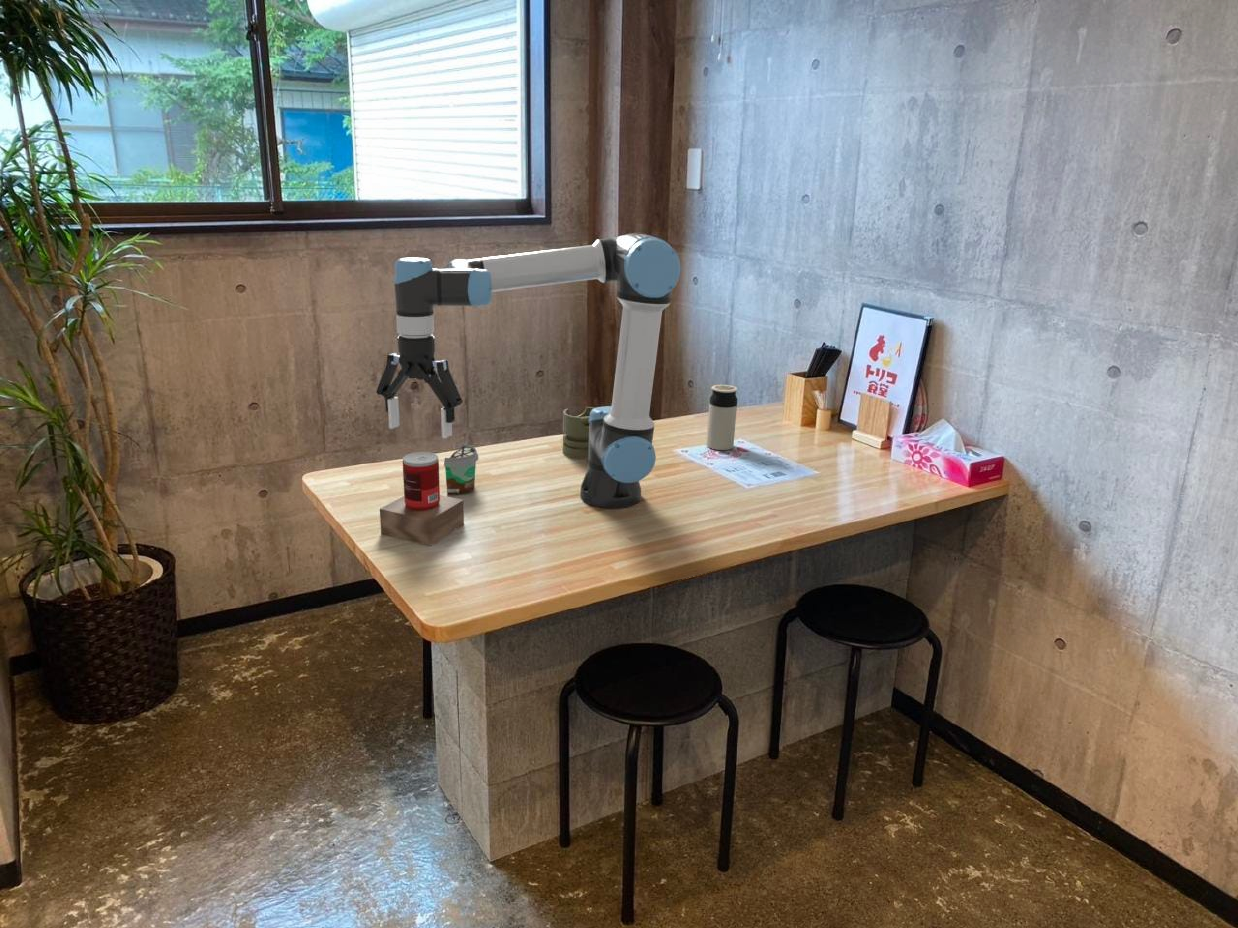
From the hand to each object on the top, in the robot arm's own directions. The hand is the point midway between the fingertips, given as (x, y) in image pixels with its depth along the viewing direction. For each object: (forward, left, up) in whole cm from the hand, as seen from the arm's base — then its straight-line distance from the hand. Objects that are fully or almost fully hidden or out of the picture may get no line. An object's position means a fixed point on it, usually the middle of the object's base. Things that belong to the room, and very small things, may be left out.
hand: (420, 431), depth 190 cm
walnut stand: (0, +1, -23) cm, 23 cm away
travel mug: (-41, -89, -23) cm, 101 cm away
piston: (-8, -64, -23) cm, 69 cm away
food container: (+5, -24, -23) cm, 34 cm away
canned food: (0, 0, -17) cm, 17 cm away
